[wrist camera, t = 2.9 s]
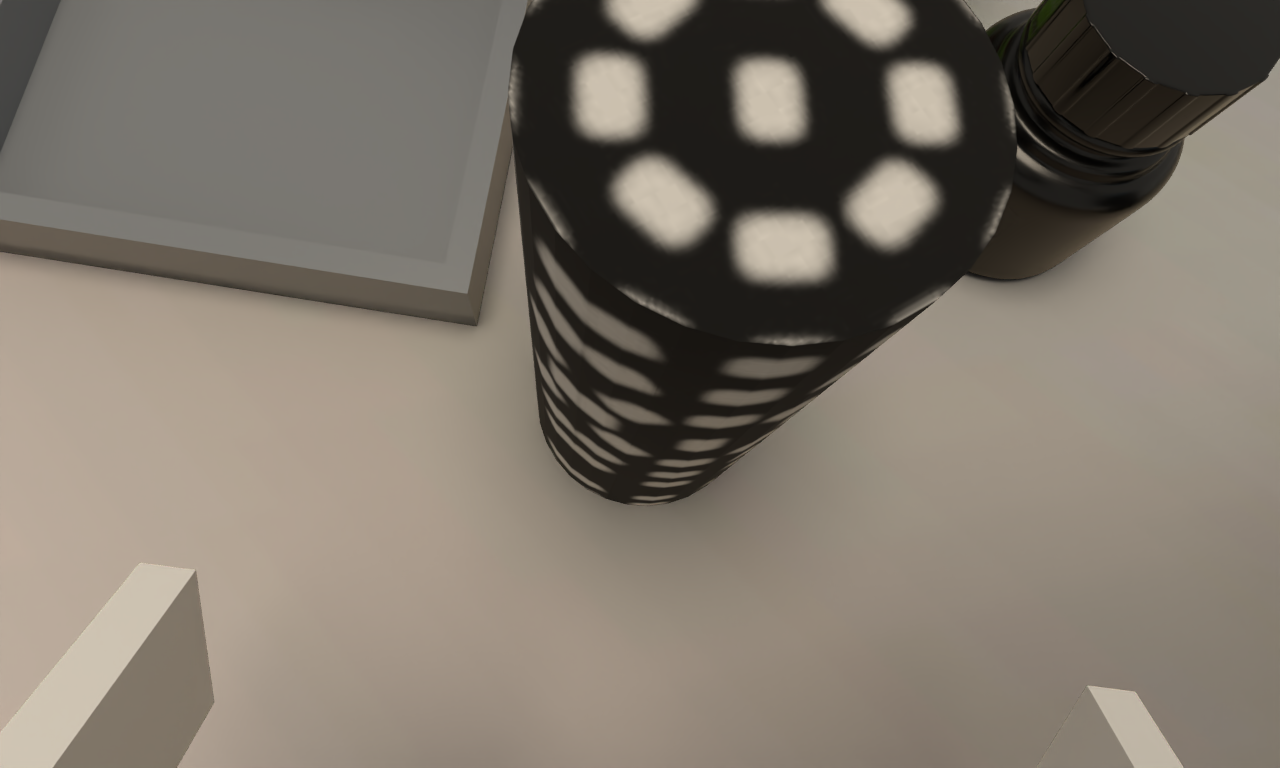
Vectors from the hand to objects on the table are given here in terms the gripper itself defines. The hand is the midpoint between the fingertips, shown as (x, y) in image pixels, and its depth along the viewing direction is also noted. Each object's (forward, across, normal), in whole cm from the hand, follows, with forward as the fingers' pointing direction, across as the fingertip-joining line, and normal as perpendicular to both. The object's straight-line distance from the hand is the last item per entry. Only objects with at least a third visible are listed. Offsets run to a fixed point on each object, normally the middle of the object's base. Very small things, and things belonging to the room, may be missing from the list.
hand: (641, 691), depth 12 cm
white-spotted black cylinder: (+20, +1, -6) cm, 21 cm away
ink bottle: (+28, +15, +2) cm, 32 cm away
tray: (+26, -16, +1) cm, 31 cm away
